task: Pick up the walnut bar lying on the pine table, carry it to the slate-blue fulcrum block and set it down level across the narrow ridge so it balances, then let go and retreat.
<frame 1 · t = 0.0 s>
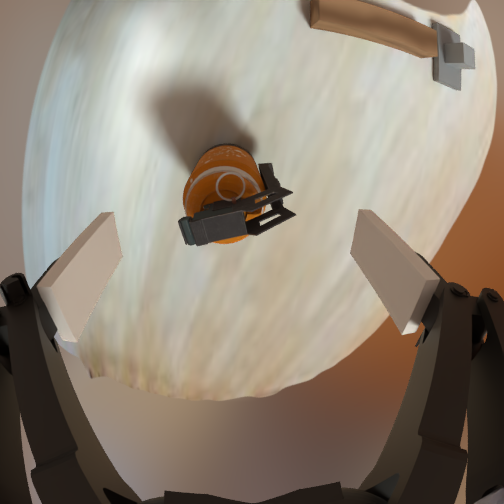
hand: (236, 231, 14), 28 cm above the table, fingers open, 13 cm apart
canister: (233, 170, 40), on the table
fulcrum: (445, 56, 30), on the table
walnut bar: (370, 28, 29), on the table
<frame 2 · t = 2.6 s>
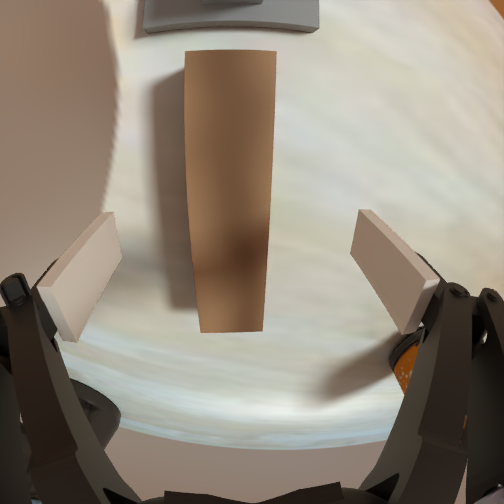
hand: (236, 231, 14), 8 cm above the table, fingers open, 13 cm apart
canister: (414, 340, 33), on the table
walnut bar: (228, 191, 21), on the table
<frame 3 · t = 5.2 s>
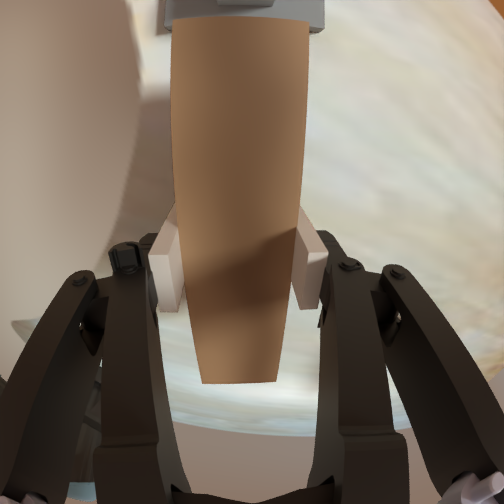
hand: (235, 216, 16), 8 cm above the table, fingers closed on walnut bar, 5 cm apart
walnut bar: (235, 212, 16), point 7 cm above the table, touching gripper
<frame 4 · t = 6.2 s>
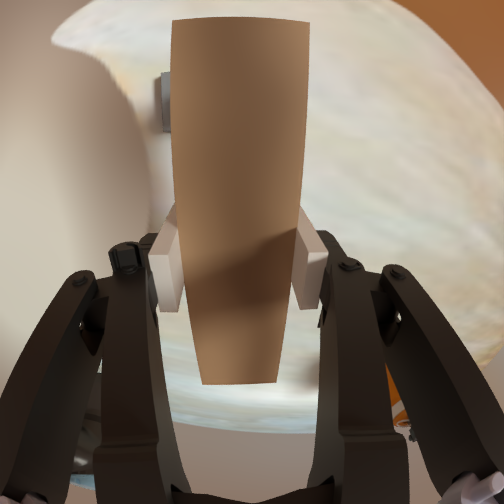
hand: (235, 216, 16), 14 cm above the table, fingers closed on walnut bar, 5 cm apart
canister: (381, 340, 44), on the table
fulcrum: (225, 97, 24), on the table
walnut bar: (235, 213, 16), point 13 cm above the table, touching gripper
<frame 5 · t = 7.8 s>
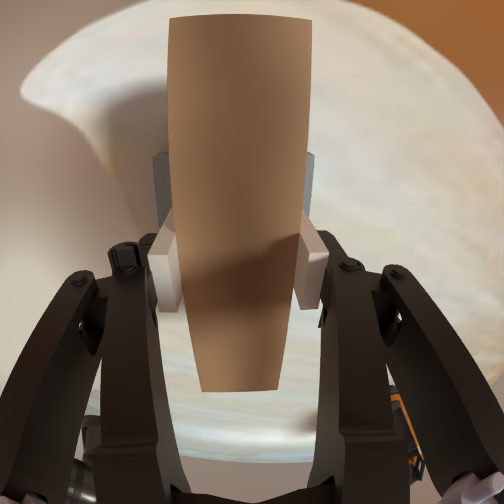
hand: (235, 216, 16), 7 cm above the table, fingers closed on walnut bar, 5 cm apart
canister: (379, 394, 42), on the table
fulcrum: (233, 186, 22), on the table
walnut bar: (235, 218, 16), point 7 cm above the table, touching fulcrum, gripper
when the fingers open (6 cm above the table, at t = 8.3 s): walnut bar stays where it is, resting on fulcrum.
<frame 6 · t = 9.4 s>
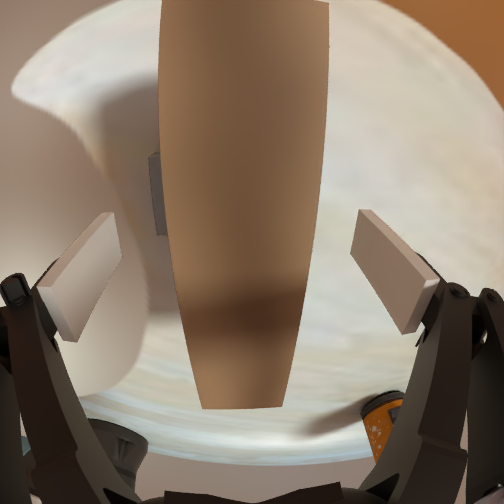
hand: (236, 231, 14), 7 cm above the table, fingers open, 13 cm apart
canister: (382, 399, 41), on the table
fulcrum: (235, 188, 20), on the table
walnut bar: (238, 225, 15), point 7 cm above the table, touching fulcrum
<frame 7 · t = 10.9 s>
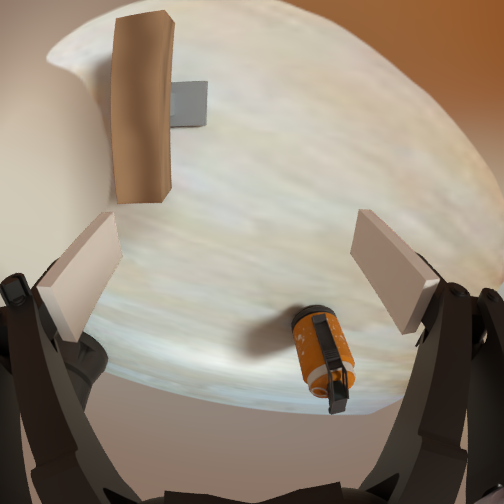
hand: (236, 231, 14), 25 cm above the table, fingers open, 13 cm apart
canister: (312, 316, 52), on the table
fulcrum: (162, 105, 32), on the table
walnut bar: (148, 105, 26), point 7 cm above the table, touching fulcrum
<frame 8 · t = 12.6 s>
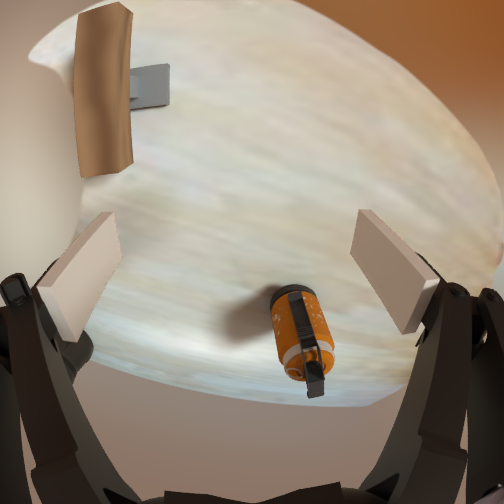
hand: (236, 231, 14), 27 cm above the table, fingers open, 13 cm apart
canister: (292, 297, 51), on the table
fulcrum: (129, 89, 31), on the table
walnut bar: (111, 87, 25), point 7 cm above the table, touching fulcrum
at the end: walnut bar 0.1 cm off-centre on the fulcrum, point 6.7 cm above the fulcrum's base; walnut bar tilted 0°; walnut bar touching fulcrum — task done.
